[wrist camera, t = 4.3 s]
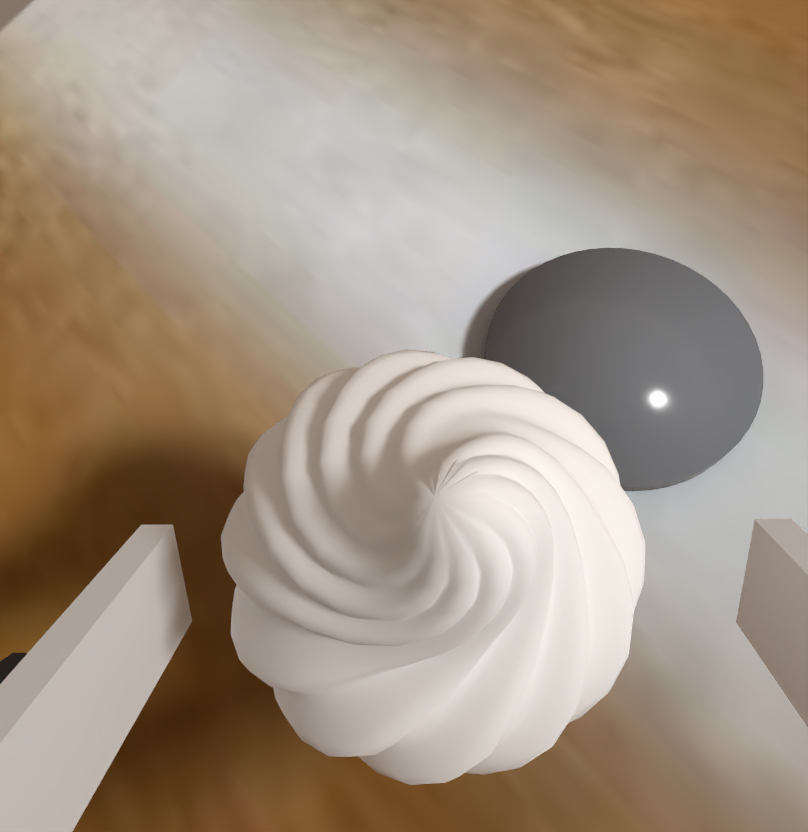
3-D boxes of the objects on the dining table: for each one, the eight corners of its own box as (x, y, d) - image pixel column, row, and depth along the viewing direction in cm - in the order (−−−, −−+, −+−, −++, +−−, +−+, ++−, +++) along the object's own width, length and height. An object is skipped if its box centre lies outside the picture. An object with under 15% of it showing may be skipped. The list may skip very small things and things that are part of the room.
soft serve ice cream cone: (279, 614, 23) (-24, 473, 8) (432, 458, 25) (409, 127, 10) (446, 798, 20) (440, 1089, 5) (602, 606, 22) (900, 438, 7)
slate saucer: (438, 328, 27) (438, 315, 26) (640, 227, 29) (646, 211, 28) (583, 541, 23) (588, 536, 22) (811, 409, 25) (825, 398, 24)
